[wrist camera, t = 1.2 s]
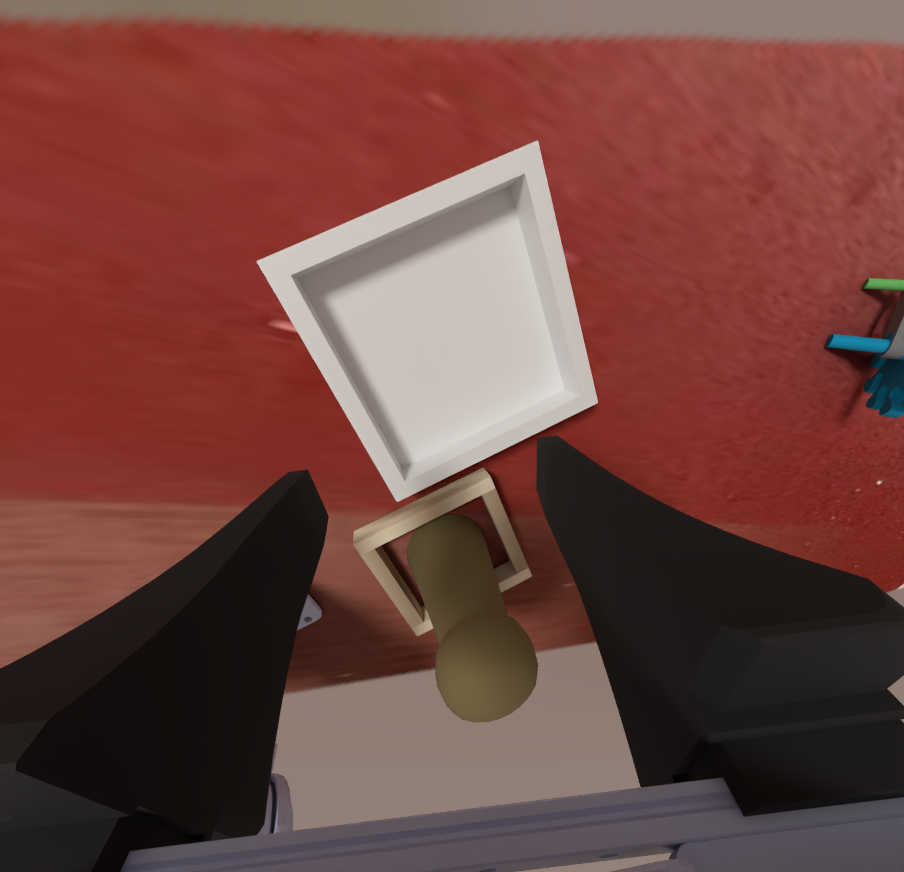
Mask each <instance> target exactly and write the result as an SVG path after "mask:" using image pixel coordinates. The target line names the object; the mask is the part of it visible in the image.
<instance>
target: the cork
mask: <svg viewBox="0 0 904 872" xmlns="http://www.w3.org/2000/svg"><path fill="white" fill-rule="evenodd" d="M407 559H408V562H409V564H410V567H411V570H412V572H413V575H414V578H415V580H416V583H417V586H418V588H419V591H420V594H421V596H422V599H423V602H424V604H425V607H426V610H427V612H428V615H429V618H430V620H431V623H432V626H433V628H434V631H435V634H436V636H437V639H438V642H439V647H438V649H437V652H436V680H437V686H438V688H439V691H440V693H441V695H442V697H443V699H444V701H445V703H446V705H447V707H448V708H449V709H450V710H451V711H452V712H453V713H454V714H456V715H457V716H458V717H459V718H461V719H462V720H467V721H471V722H489V721H493V720H497V719H500V718H502V717H504V716H507V715H509V714H510V713H512V712H513V711H514V710H516V709H517V708H519V707H520V706H521V705H522V704H523V703H524V702H525V701H526V699H527V698H528V697H529V696H530V695H531V693H532V691H533V689H534V687H535V685H536V679H537V670H538V669H537V668H538V663H537V658H536V654H535V651H534V647H533V644H532V642H531V640H530V638H529V636H528V634H527V633H526V632H525V630H524V629H523V628H522V627H521V626H520V625H519V624H518V623H517V622H516V621H515V619H514V618H512V617H509V616H508V614H507V611H506V608H505V604H504V601H503V598H502V595H501V591H500V588H499V585H498V581H497V578H496V575H495V571H494V568H493V565H492V561H491V558H490V555H489V551H488V548H487V545H486V542H485V538H484V535H483V532H482V529H481V528H480V527H479V525H478V524H477V523H476V522H475V521H474V520H472V519H470V518H468V517H466V516H462V515H456V514H450V515H441V516H439V517H437V518H435V519H433V520H431V521H429V522H427V523H425V524H423V525H422V526H421V527H419V528H418V529H417V531H416V532H415V533H414V535H413V536H412V537H411V539H410V542H409V545H408V548H407Z"/></svg>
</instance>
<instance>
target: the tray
mask: <svg viewBox="0 0 904 872" xmlns="http://www.w3.org/2000/svg"><path fill="white" fill-rule="evenodd" d="M257 263H258V265H259V267H260V268H261V270H262V272H263V273H264V275H265V277H266V279H267V280H268V282H269V284H270V285H271V287H272V289H273V291H274V292H275V294H276V296H277V297H278V299H279V301H280V303H281V304H282V306H283V308H284V309H285V311H286V313H287V315H288V316H289V318H290V320H291V321H292V323H293V325H294V327H295V328H296V330H297V332H298V333H299V335H300V337H301V339H302V340H303V342H304V344H305V345H306V347H307V349H308V351H309V352H310V354H311V356H312V357H313V359H314V361H315V363H316V364H317V366H318V368H319V369H320V371H321V373H322V375H323V376H324V378H325V380H326V381H327V383H328V385H329V387H330V388H331V390H332V392H333V393H334V395H335V397H336V399H337V400H338V402H339V404H340V405H341V407H342V409H343V410H344V412H345V414H346V416H347V417H348V419H349V421H350V422H351V424H352V426H353V428H354V429H355V431H356V433H357V434H358V436H359V438H360V440H361V441H362V443H363V445H364V446H365V448H366V450H367V452H368V453H369V455H370V457H371V458H372V460H373V462H374V464H375V465H376V467H377V469H378V470H379V472H380V474H381V476H382V477H383V479H384V481H385V482H386V484H387V486H388V488H389V489H390V491H391V493H392V494H393V496H394V498H395V500H396V501H397V502H398V501H400V500H402V499H404V498H406V497H408V496H410V495H412V494H414V493H416V492H418V491H420V490H423V489H425V488H427V487H429V486H431V485H433V484H435V483H437V482H439V481H441V480H443V479H445V478H447V477H449V476H451V475H453V474H455V473H457V472H459V471H461V470H463V469H465V468H467V467H469V466H471V465H473V464H475V463H477V462H479V461H481V460H483V459H485V458H487V457H489V456H491V455H493V454H496V453H498V452H500V451H502V450H504V449H506V448H508V447H510V446H512V445H514V444H516V443H518V442H520V441H522V440H524V439H526V438H528V437H530V436H532V435H534V434H536V433H538V432H540V431H542V430H544V429H546V428H548V427H550V426H552V425H554V424H556V423H558V422H560V421H562V420H564V419H566V418H569V417H571V416H573V415H575V414H577V413H579V412H581V411H583V410H585V409H587V408H589V407H591V406H593V405H595V404H597V403H598V401H597V396H596V392H595V387H594V383H593V379H592V374H591V370H590V366H589V361H588V357H587V353H586V348H585V344H584V340H583V335H582V331H581V326H580V322H579V318H578V313H577V309H576V305H575V300H574V296H573V292H572V287H571V283H570V279H569V274H568V270H567V265H566V261H565V257H564V252H563V248H562V244H561V239H560V235H559V231H558V226H557V222H556V218H555V213H554V209H553V204H552V200H551V196H550V191H549V187H548V183H547V178H546V174H545V170H544V165H543V161H542V157H541V152H540V148H539V143H538V140H537V141H535V142H533V143H530V144H528V145H526V146H523V147H521V148H519V149H516V150H514V151H512V152H509V153H507V154H505V155H502V156H500V157H498V158H496V159H493V160H491V161H489V162H486V163H484V164H482V165H479V166H477V167H475V168H472V169H470V170H468V171H465V172H463V173H461V174H458V175H456V176H454V177H451V178H449V179H447V180H444V181H442V182H440V183H437V184H435V185H433V186H430V187H428V188H426V189H423V190H421V191H419V192H416V193H414V194H412V195H409V196H407V197H405V198H402V199H400V200H398V201H396V202H393V203H391V204H389V205H386V206H384V207H382V208H379V209H377V210H375V211H372V212H370V213H368V214H365V215H363V216H361V217H358V218H356V219H354V220H351V221H349V222H347V223H344V224H342V225H340V226H337V227H335V228H333V229H330V230H328V231H326V232H323V233H321V234H319V235H316V236H314V237H312V238H309V239H307V240H305V241H302V242H300V243H298V244H296V245H293V246H291V247H289V248H286V249H284V250H282V251H279V252H277V253H275V254H272V255H270V256H268V257H265V258H263V259H261V260H258V261H257Z"/></svg>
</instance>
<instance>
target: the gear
mask: <svg viewBox="0 0 904 872" xmlns="http://www.w3.org/2000/svg"><path fill="white" fill-rule="evenodd" d="M862 289H876V290H893V291H902V293H901V296H900V298H899V301H898V303H897V305H896V308H895V310H894V312H893V315H892V317H891V319H890V322H889V324H888V327H887V329H886V331H885V334H884V336H883V338H882V339H876V338H867V337H857V336H848V335H838V334H832V335H830V337H829V338H828V341H827V343H826V347H830V348H839V349H847V350H856V351H864V352H873V353H876V354H875V355H874V357H873V359H872V361H871V365H870V368H875V369H879V370H878V372H877V373H876V374H875V375H874V376H872V377H871V378H869V379H868V380H867V381H866V382H865V384H864V391H865V392H867V393H873V395H872V396H871V397H870V398H869V400H868V401H867V403H866V407H867V408H871V409H877V410H880V411H879V415H881V416H886V417H892V418H897V417H900V416H902V415H904V280H892V279H871V278H868V279H867V280H866V281H865V283H864V285H863V287H862Z"/></svg>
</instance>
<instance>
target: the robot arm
mask: <svg viewBox="0 0 904 872" xmlns="http://www.w3.org/2000/svg"><path fill="white" fill-rule="evenodd" d="M536 488H537V492H538V495H539V498H540V502H541V505H542V508H543V511H544V514H545V517H546V519H547V521H548V524H549V526H550V528H551V530H552V532H553V535H554V537H555V539H556V541H557V543H558V546H559V548H560V550H561V552H562V554H563V556H564V558H565V561H566V563H567V565H568V567H569V569H570V571H571V574H572V576H573V578H574V580H575V583H576V585H577V587H578V590H579V592H580V595H581V598H582V601H583V603H584V606H585V609H586V612H587V615H588V618H589V621H590V623H591V626H592V629H593V632H594V635H595V638H596V641H597V644H598V647H599V650H600V653H601V656H602V659H603V662H604V666H605V669H606V672H607V675H608V678H609V682H610V685H611V687H612V691H613V694H614V698H615V701H616V704H617V707H618V710H619V714H620V717H621V720H622V724H623V727H624V731H625V734H626V738H627V741H628V744H629V748H630V751H631V754H632V758H633V762H634V765H635V769H636V772H637V776H638V779H639V783H640V786H641V788H634V789H626V790H619V791H610V792H602V793H594V794H586V795H578V796H570V797H562V798H554V799H545V800H537V801H530V802H521V803H513V804H505V805H497V806H489V807H481V808H473V809H465V810H457V811H449V812H440V813H432V814H425V815H417V816H408V817H400V818H392V819H385V820H376V821H368V822H360V823H353V824H344V825H336V826H328V827H320V828H311V829H304V830H295V831H293V810H292V804H291V798H290V790H289V786H288V783H287V780H286V779H285V778H284V776H282V775H279V774H275V773H272V769H273V764H274V759H275V754H276V749H277V744H276V743H275V741H276V735H277V729H278V723H279V716H280V710H281V705H282V699H283V694H284V689H285V684H286V679H287V673H288V668H289V664H290V659H291V654H292V650H293V645H294V641H295V636H296V632H297V630H299V629H301V628H303V627H305V626H307V625H309V624H311V623H313V622H315V621H317V620H319V619H320V618H321V616H322V610H321V608H320V607H319V606H318V605H317V603H316V602H315V601H314V600H313V599H312V598H311V596H310V595H309V594H308V593H309V590H310V587H311V584H312V581H313V578H314V575H315V572H316V568H317V565H318V562H319V559H320V556H321V553H322V549H323V546H324V541H325V536H326V530H327V524H328V517H329V516H328V514H327V512H326V510H325V507H324V505H323V503H322V500H321V498H320V496H319V494H318V491H317V489H316V487H315V485H314V482H313V480H312V478H311V476H310V473H309V471H308V470H301V471H294V472H288V473H287V474H286V475H284V476H283V477H282V478H280V479H279V480H278V481H277V482H276V483H274V484H273V485H272V486H271V487H270V488H269V489H267V490H266V491H265V492H264V493H263V494H262V495H261V496H259V497H258V498H257V499H256V500H255V501H254V502H252V503H251V504H250V505H249V506H248V507H247V508H246V509H244V510H243V511H242V512H241V513H240V514H239V515H237V516H236V517H235V518H234V519H233V520H232V521H230V522H229V523H228V524H227V525H225V526H224V527H223V528H222V529H221V530H219V531H218V532H217V533H216V534H214V535H213V536H212V537H211V538H209V539H208V540H207V541H206V542H205V543H203V544H202V545H201V546H200V547H198V548H197V549H196V550H194V551H193V552H192V553H190V554H189V555H188V556H186V557H185V558H184V559H182V560H181V561H180V562H178V563H177V564H175V565H174V566H172V567H171V568H170V569H168V570H167V571H165V572H164V573H163V574H161V575H160V576H158V577H157V578H155V579H154V580H152V581H151V582H149V583H148V584H146V585H145V586H143V587H141V588H140V589H138V590H137V591H135V592H134V593H132V594H130V595H129V596H127V597H126V598H124V599H123V600H121V601H119V602H118V603H116V604H115V605H113V606H112V607H110V608H108V609H107V610H105V611H104V612H102V613H100V614H99V615H97V616H95V617H94V618H92V619H90V620H88V621H87V622H85V623H83V624H82V625H80V626H78V627H76V628H75V629H73V630H71V631H70V632H68V633H66V634H64V635H62V636H61V637H59V638H57V639H55V640H53V641H52V642H50V643H48V644H46V645H44V646H43V647H41V648H39V649H37V650H35V651H33V652H32V653H30V654H28V655H26V656H24V657H22V658H20V659H18V660H17V661H15V662H13V663H11V664H9V665H7V666H5V667H3V668H1V669H0V872H516V871H524V870H533V869H540V868H549V867H557V866H566V865H574V864H582V863H590V862H599V861H607V860H615V859H623V858H631V857H639V856H648V855H656V854H664V853H671V855H670V857H669V860H664V861H659V862H653V863H648V864H644V865H639V866H635V867H630V868H626V869H622V870H617V871H612V872H904V723H903V722H902V721H901V720H900V719H904V706H903V705H902V704H901V703H900V702H899V701H898V699H896V697H895V696H894V695H893V694H892V693H891V692H890V691H889V690H887V688H888V687H890V686H891V685H892V684H893V683H895V682H896V681H897V680H898V679H900V678H901V677H902V676H903V675H904V607H903V606H902V605H900V604H899V603H898V602H897V601H895V600H894V599H893V598H891V597H890V596H889V595H888V594H887V593H885V592H884V591H883V590H882V589H881V588H879V587H878V586H877V585H876V584H874V583H873V582H872V581H870V580H869V579H867V578H864V577H861V576H857V575H854V574H851V573H847V572H844V571H841V570H838V569H834V568H831V567H828V566H825V565H821V564H818V563H815V562H811V561H808V560H805V559H802V558H798V557H795V556H792V555H789V554H786V553H783V552H780V551H778V550H775V549H772V548H769V547H766V546H764V545H761V544H758V543H755V542H752V541H750V540H747V539H744V538H742V537H739V536H737V535H734V534H731V533H729V532H726V531H724V530H721V529H719V528H717V527H714V526H712V525H710V524H707V523H705V522H703V521H700V520H698V519H696V518H693V517H691V516H689V515H687V514H685V513H682V512H680V511H678V510H676V509H674V508H672V507H670V506H668V505H666V504H664V503H662V502H660V501H658V500H656V499H654V498H652V497H650V496H649V495H647V494H645V493H643V492H641V491H640V490H638V489H636V488H634V487H633V486H631V485H629V484H628V483H626V482H624V481H623V480H621V479H619V478H618V477H616V476H615V475H613V474H611V473H610V472H608V471H607V470H605V469H604V468H602V467H601V466H599V465H598V464H596V463H595V462H593V461H592V460H591V459H589V458H588V457H586V456H585V455H584V454H582V453H581V452H579V451H578V450H577V449H575V448H574V447H572V446H571V445H570V444H568V443H567V442H566V441H564V440H563V439H561V438H560V437H558V436H557V435H556V436H549V437H542V438H537V487H536ZM306 617H310V618H306Z"/></svg>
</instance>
